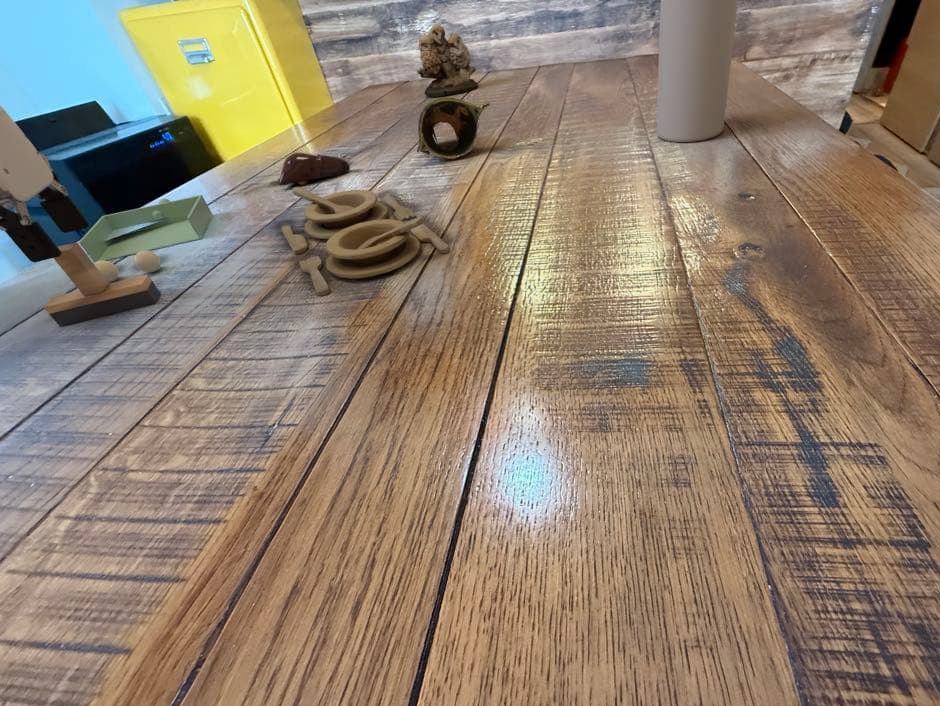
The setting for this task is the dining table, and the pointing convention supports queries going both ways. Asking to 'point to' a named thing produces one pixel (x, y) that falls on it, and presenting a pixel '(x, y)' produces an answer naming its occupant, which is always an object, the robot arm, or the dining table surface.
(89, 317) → the brush
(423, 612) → the dining table surface
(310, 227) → the tableware set
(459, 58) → the owl figurine
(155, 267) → the ball
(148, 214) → the dustpan
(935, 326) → the dining table surface
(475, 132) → the pot
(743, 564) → the dining table surface
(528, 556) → the dining table surface
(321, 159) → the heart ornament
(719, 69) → the cylinder vase
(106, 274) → the ball
